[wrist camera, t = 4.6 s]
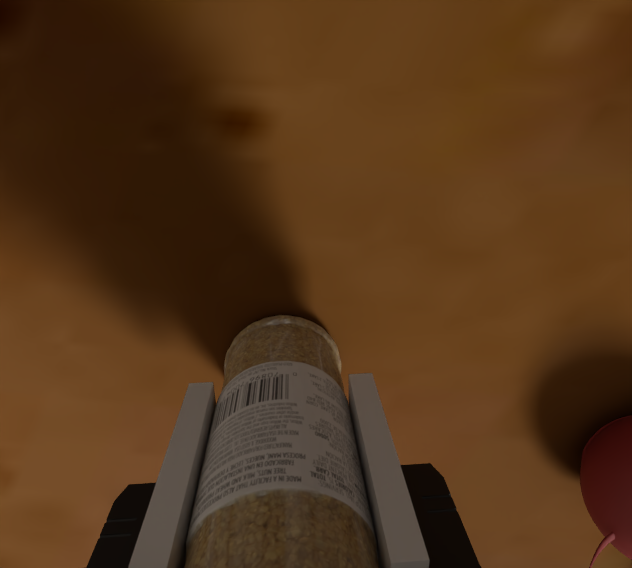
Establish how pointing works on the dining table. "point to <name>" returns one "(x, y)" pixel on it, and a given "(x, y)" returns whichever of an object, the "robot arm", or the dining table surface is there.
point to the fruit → (610, 484)
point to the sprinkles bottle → (282, 459)
